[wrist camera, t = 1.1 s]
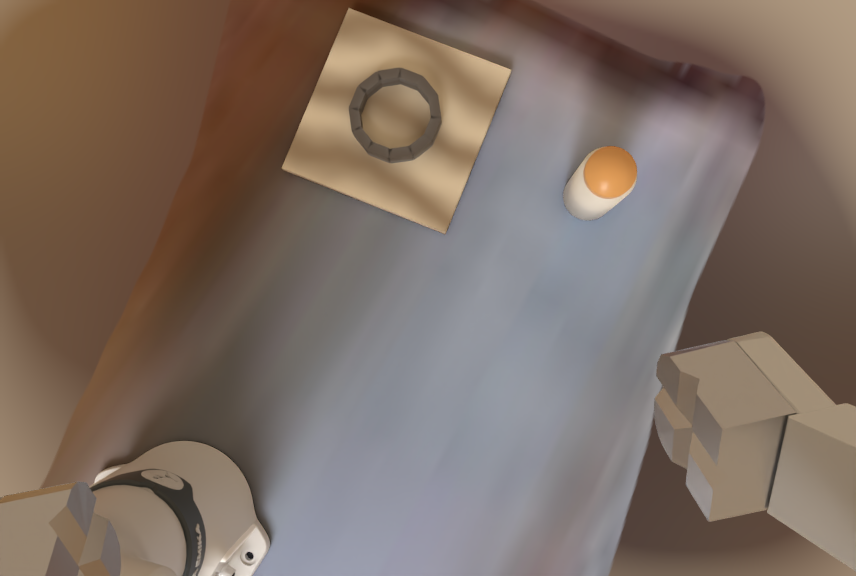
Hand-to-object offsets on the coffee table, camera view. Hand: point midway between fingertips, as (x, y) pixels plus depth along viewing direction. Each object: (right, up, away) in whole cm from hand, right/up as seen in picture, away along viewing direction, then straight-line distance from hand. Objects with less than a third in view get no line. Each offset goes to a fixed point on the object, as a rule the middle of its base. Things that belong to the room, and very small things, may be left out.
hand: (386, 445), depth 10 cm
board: (-3, +19, +65) cm, 68 cm away
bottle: (+17, +12, +64) cm, 67 cm away
